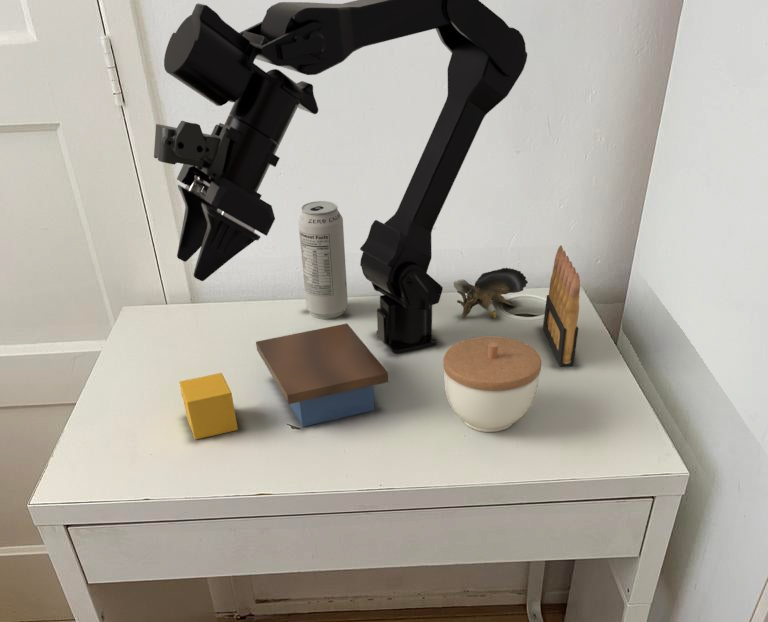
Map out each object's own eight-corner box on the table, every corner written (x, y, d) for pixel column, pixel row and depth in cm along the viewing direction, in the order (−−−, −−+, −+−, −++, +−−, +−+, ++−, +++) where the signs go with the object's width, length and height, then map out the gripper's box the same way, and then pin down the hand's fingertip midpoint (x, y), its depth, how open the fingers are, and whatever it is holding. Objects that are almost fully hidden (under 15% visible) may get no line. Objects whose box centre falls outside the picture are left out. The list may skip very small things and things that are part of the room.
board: (347, 331, 100) (347, 323, 99) (388, 382, 90) (388, 372, 89) (256, 350, 97) (255, 341, 96) (288, 404, 87) (287, 395, 86)
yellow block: (228, 409, 94) (221, 372, 91) (238, 430, 90) (231, 392, 87) (187, 418, 93) (178, 381, 90) (195, 440, 89) (187, 402, 86)
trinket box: (449, 446, 87) (451, 372, 81) (436, 397, 95) (437, 325, 89) (544, 440, 87) (554, 365, 81) (523, 391, 95) (530, 319, 89)
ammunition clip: (573, 366, 100) (586, 275, 92) (559, 366, 100) (571, 276, 92) (555, 328, 108) (566, 242, 100) (542, 329, 108) (552, 243, 100)
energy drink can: (356, 310, 114) (351, 205, 105) (327, 324, 111) (319, 217, 101) (327, 299, 117) (319, 196, 108) (298, 313, 114) (287, 208, 104)
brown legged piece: (487, 324, 107) (537, 296, 109) (465, 276, 105) (515, 248, 108) (461, 333, 114) (508, 306, 117) (440, 288, 112) (488, 262, 115)
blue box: (341, 365, 102) (339, 337, 99) (374, 410, 93) (373, 380, 90) (274, 379, 99) (270, 351, 97) (302, 427, 90) (298, 397, 88)
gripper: (165, 81, 83) (106, 216, 87) (202, 88, 69) (129, 251, 73) (256, 139, 90) (197, 263, 94) (307, 157, 75) (235, 304, 79)
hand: (189, 269), depth 84 cm, fingers open, 9 cm apart
